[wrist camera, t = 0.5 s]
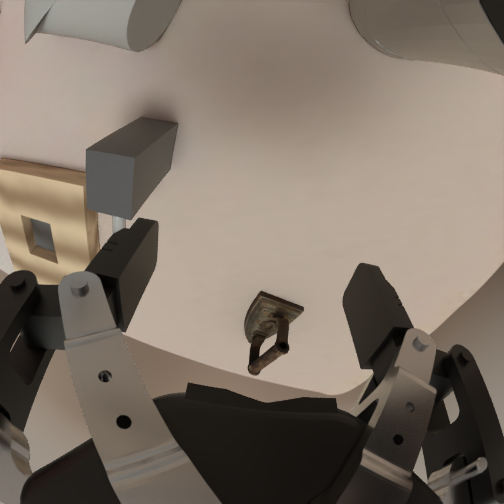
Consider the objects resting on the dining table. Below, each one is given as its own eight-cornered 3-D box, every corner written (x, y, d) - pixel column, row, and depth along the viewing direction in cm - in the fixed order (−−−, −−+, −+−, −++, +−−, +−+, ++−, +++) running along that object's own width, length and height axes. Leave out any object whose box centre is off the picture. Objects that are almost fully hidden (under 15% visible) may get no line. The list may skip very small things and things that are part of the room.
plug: (141, 117, 24) (85, 149, 16) (178, 123, 24) (134, 158, 17) (133, 186, 29) (89, 239, 21) (166, 194, 29) (130, 250, 21)
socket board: (2, 158, 26) (-15, 169, 23) (96, 174, 28) (79, 189, 25) (24, 262, 38) (13, 276, 35) (105, 291, 40) (95, 309, 37)
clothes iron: (306, 300, 39) (307, 367, 33) (269, 326, 47) (265, 381, 41) (263, 288, 37) (258, 360, 31) (231, 316, 45) (225, 374, 39)
